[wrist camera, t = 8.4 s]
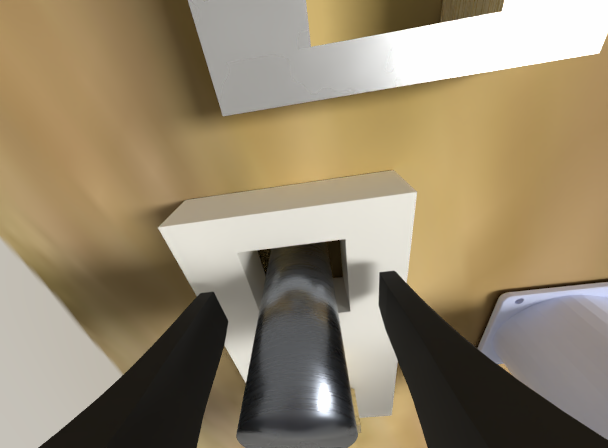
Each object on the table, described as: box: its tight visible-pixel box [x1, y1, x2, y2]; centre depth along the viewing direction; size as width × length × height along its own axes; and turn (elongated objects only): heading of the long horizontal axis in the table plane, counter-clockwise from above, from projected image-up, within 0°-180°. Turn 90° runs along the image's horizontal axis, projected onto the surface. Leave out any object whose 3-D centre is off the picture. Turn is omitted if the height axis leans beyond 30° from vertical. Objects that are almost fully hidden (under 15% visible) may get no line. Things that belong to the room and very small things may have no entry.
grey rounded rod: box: [237, 242, 358, 448], centre depth 10 cm, size 3×3×8 cm
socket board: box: [158, 170, 417, 418], centre depth 15 cm, size 10×20×2 cm, turn 8°
